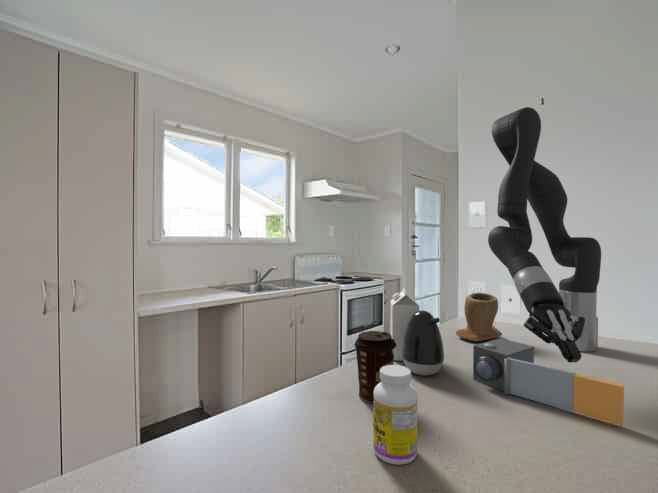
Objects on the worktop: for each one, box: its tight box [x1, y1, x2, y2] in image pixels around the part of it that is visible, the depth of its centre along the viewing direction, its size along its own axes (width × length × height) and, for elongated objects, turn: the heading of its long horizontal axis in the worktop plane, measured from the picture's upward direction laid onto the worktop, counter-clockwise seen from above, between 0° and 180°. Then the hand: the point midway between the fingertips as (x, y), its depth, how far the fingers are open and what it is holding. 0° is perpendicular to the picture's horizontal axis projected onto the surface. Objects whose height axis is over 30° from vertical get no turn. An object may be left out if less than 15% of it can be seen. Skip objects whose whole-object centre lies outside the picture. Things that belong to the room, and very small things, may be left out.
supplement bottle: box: [372, 364, 419, 466], centre depth 53 cm, size 7×7×13 cm
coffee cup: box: [354, 330, 397, 404], centre depth 72 cm, size 9×8×13 cm
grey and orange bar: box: [503, 358, 625, 427], centre depth 66 cm, size 19×2×7 cm, turn 46°
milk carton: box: [389, 286, 420, 362], centre depth 96 cm, size 7×7×19 cm
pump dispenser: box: [402, 310, 445, 377], centre depth 85 cm, size 10×10×15 cm
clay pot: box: [455, 292, 503, 342], centre depth 113 cm, size 15×12×15 cm
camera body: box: [472, 337, 535, 392], centre depth 79 cm, size 14×8×8 cm, turn 122°
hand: (574, 360), depth 69 cm, fingers closed
